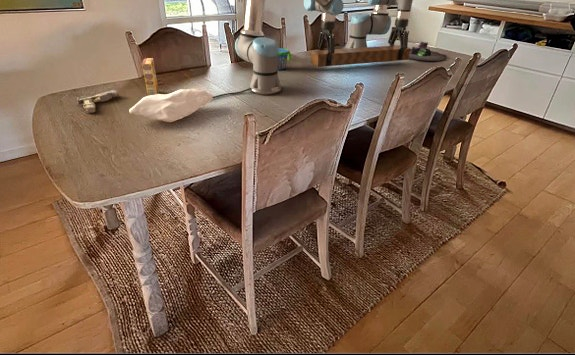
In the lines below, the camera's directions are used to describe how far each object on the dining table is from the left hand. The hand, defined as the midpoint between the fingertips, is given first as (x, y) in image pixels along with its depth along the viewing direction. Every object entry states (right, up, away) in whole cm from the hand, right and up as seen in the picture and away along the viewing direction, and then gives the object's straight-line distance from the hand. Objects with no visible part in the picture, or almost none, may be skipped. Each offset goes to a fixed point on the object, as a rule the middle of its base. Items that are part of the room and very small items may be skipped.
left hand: (324, 63), depth 209 cm
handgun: (-101, -34, -54) cm, 120 cm away
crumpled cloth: (-69, -40, -60) cm, 100 cm away
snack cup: (-26, -3, 0) cm, 27 cm away
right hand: (+45, +8, +16) cm, 49 cm away
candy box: (-83, -28, -42) cm, 97 cm away
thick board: (+23, +4, +8) cm, 24 cm away
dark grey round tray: (+69, +17, +39) cm, 81 cm away
